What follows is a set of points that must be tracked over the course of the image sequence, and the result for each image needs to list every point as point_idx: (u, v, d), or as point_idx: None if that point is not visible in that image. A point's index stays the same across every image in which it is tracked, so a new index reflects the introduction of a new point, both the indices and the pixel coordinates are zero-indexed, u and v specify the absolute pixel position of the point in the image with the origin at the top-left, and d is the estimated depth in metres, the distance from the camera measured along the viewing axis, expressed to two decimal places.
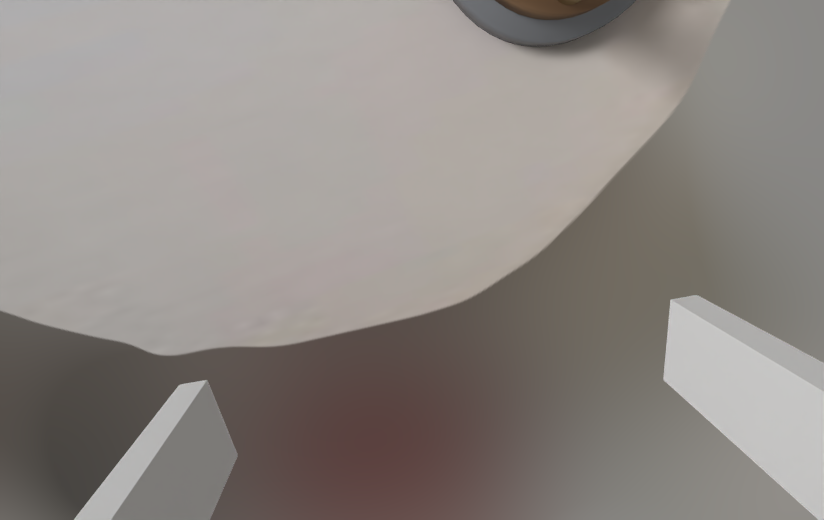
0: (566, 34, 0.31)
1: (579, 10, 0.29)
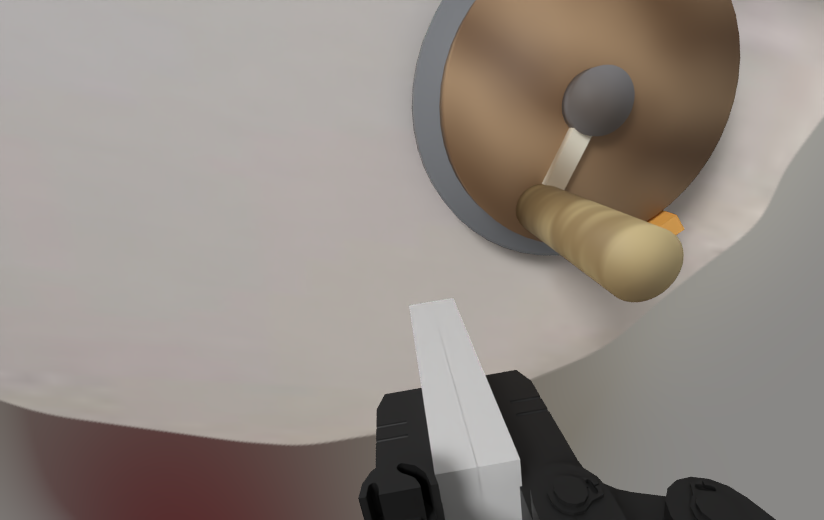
0: (517, 245, 0.27)
1: (536, 239, 0.24)
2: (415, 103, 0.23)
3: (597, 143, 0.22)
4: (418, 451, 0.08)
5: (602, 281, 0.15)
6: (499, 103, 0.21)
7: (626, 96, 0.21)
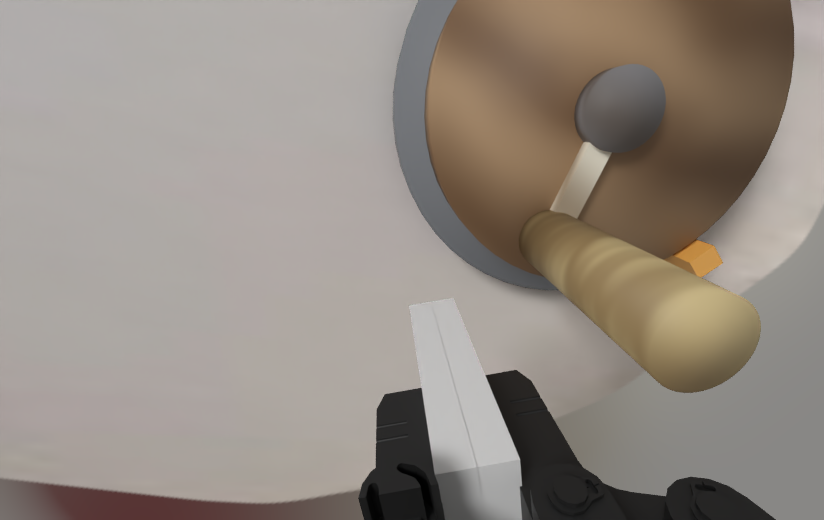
0: (520, 279, 0.22)
1: (543, 275, 0.20)
2: (395, 113, 0.19)
3: (617, 160, 0.18)
4: (418, 450, 0.08)
5: (644, 364, 0.10)
6: (497, 113, 0.17)
7: (655, 103, 0.17)
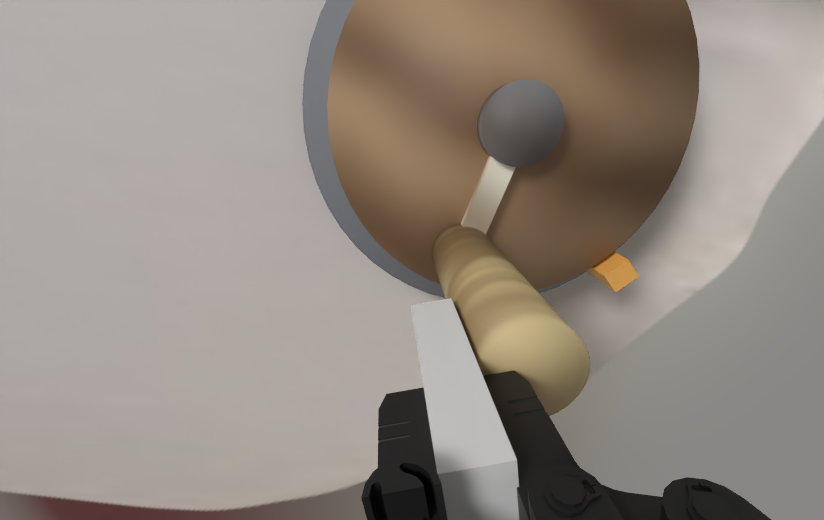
0: None
1: None
2: (305, 126, 0.19)
3: (526, 174, 0.18)
4: (420, 450, 0.08)
5: None
6: (398, 128, 0.17)
7: (553, 117, 0.16)
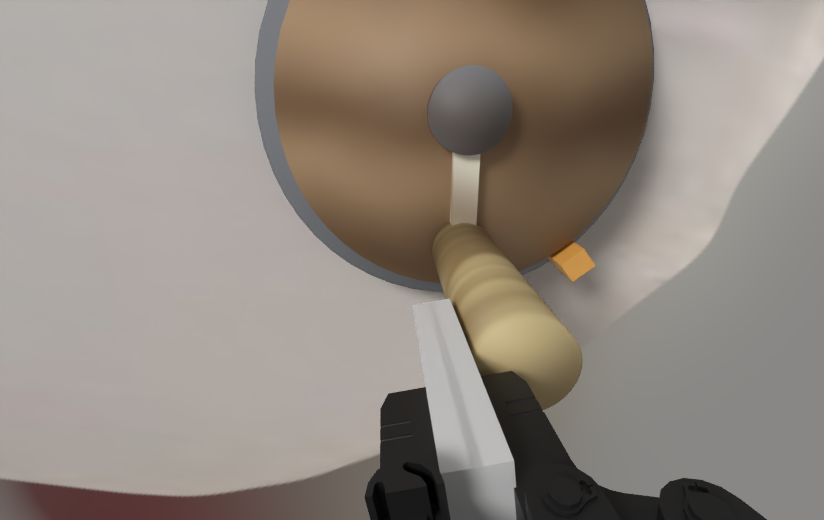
0: (407, 280, 0.22)
1: None
2: (258, 115, 0.19)
3: (495, 154, 0.18)
4: (422, 450, 0.08)
5: None
6: (358, 160, 0.18)
7: (498, 93, 0.16)
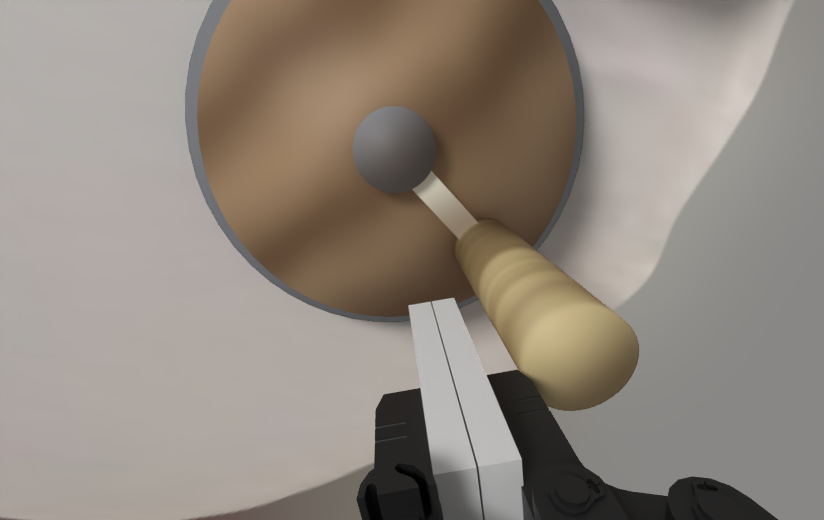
0: None
1: None
2: (189, 145, 0.19)
3: (444, 157, 0.18)
4: (416, 451, 0.08)
5: None
6: (350, 253, 0.19)
7: (402, 118, 0.16)
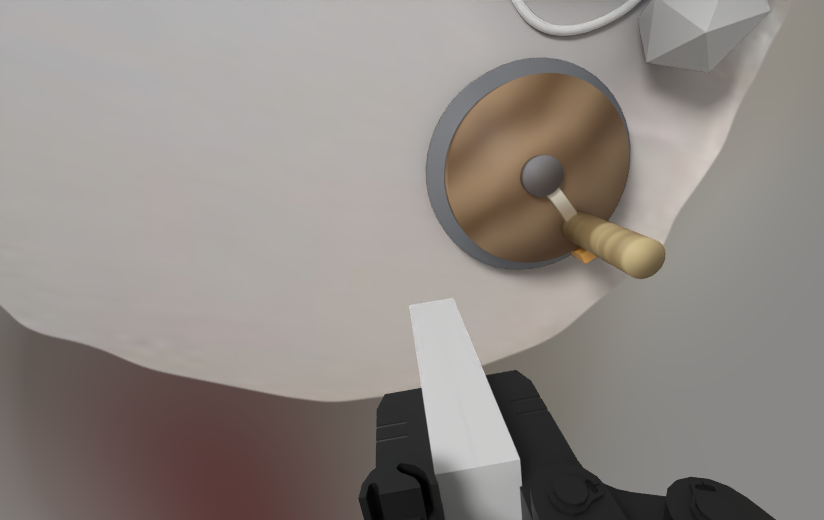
0: (492, 261, 0.40)
1: None
2: (429, 168, 0.36)
3: (563, 179, 0.35)
4: (418, 451, 0.08)
5: None
6: (509, 226, 0.36)
7: (549, 161, 0.33)
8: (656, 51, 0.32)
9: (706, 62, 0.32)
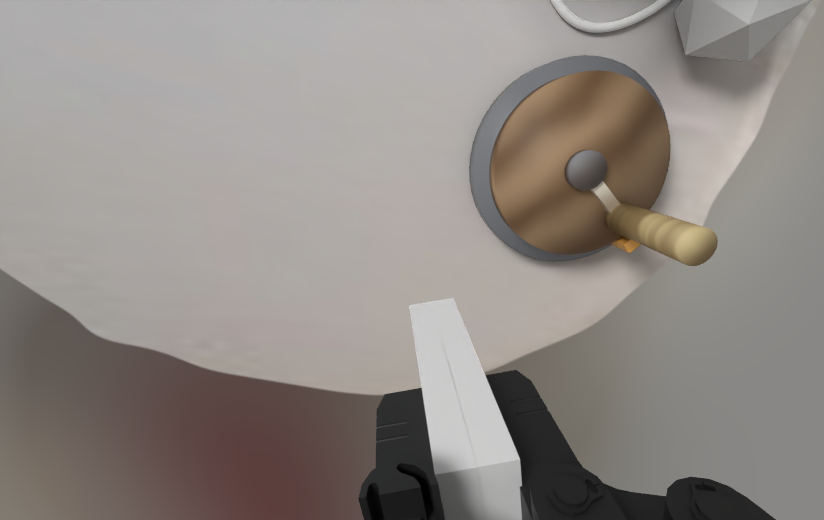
0: (535, 254, 0.41)
1: None
2: (474, 168, 0.37)
3: (605, 172, 0.36)
4: (418, 451, 0.08)
5: None
6: (554, 220, 0.38)
7: (593, 156, 0.35)
8: (696, 44, 0.33)
9: (746, 52, 0.33)
